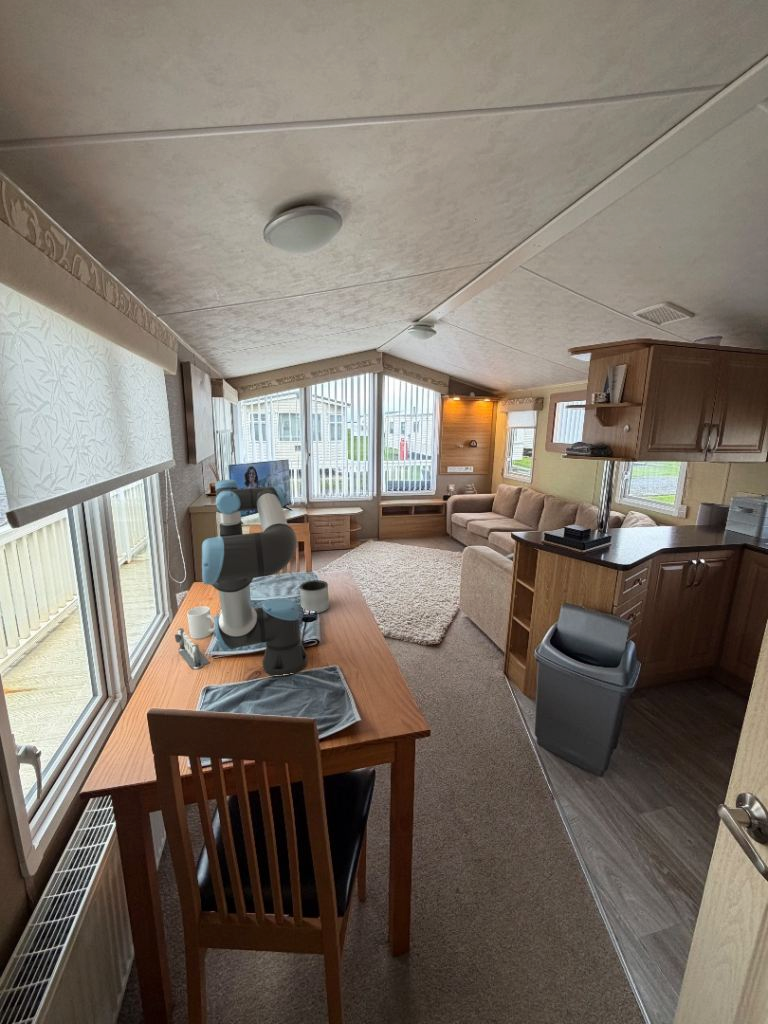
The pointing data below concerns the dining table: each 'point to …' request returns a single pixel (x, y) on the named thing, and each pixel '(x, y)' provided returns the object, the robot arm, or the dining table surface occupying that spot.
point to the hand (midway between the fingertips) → (237, 583)
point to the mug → (200, 622)
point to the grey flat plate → (190, 660)
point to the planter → (314, 595)
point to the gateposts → (195, 648)
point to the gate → (188, 644)
